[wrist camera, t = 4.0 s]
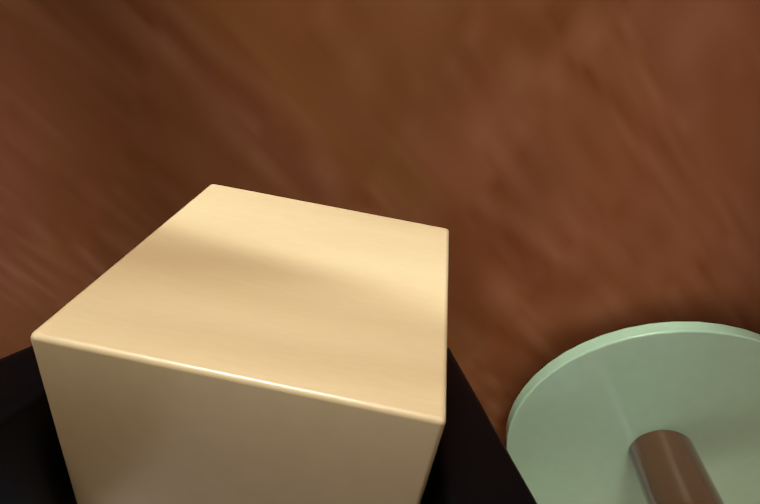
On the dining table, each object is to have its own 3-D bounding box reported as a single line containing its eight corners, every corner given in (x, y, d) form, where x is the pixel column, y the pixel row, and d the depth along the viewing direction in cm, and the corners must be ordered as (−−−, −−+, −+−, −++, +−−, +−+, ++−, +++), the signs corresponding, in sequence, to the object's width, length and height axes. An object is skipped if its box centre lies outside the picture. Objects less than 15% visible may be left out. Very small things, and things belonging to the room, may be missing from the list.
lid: (656, 545, 24) (714, 706, 19) (451, 444, 22) (451, 589, 17) (893, 404, 18) (1077, 580, 13) (640, 255, 17) (729, 384, 11)
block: (407, 400, 11) (382, 629, 7) (216, 361, 11) (90, 562, 7) (450, 227, 9) (447, 422, 5) (211, 182, 9) (25, 334, 5)
